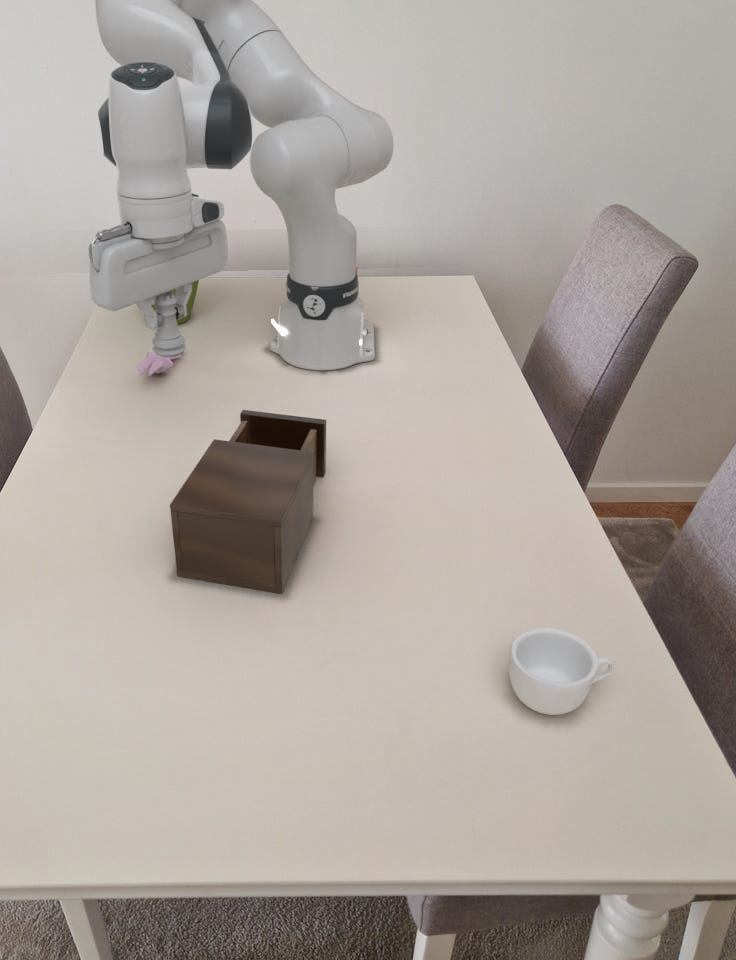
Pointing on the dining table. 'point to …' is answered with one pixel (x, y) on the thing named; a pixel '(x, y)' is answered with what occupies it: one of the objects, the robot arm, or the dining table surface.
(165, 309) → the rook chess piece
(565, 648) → the teacup
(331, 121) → the robot arm
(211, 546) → the cabinet
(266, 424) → the drawer
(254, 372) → the dining table surface
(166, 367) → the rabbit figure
